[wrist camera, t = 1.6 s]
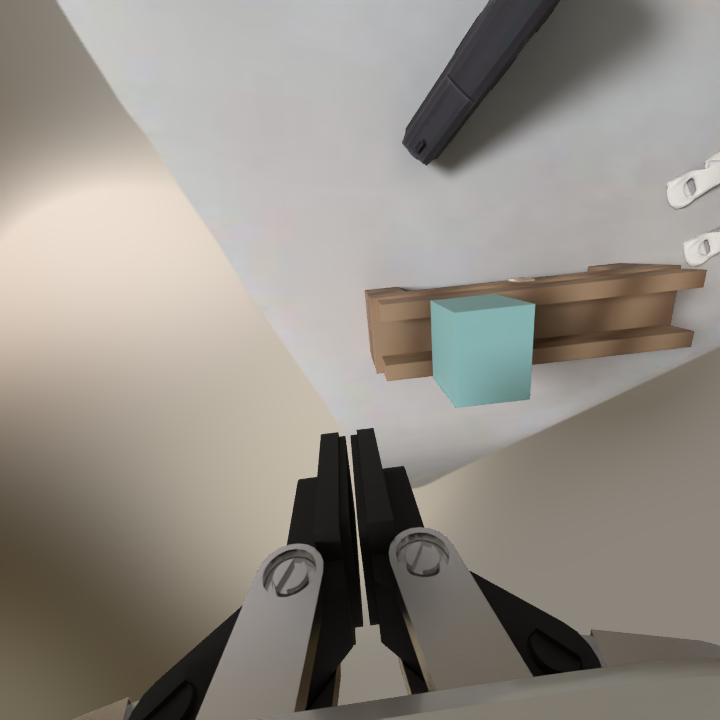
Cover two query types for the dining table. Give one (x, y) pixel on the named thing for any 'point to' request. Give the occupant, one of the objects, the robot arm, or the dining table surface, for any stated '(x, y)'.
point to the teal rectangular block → (482, 348)
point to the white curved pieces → (679, 196)
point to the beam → (544, 315)
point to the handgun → (473, 72)
